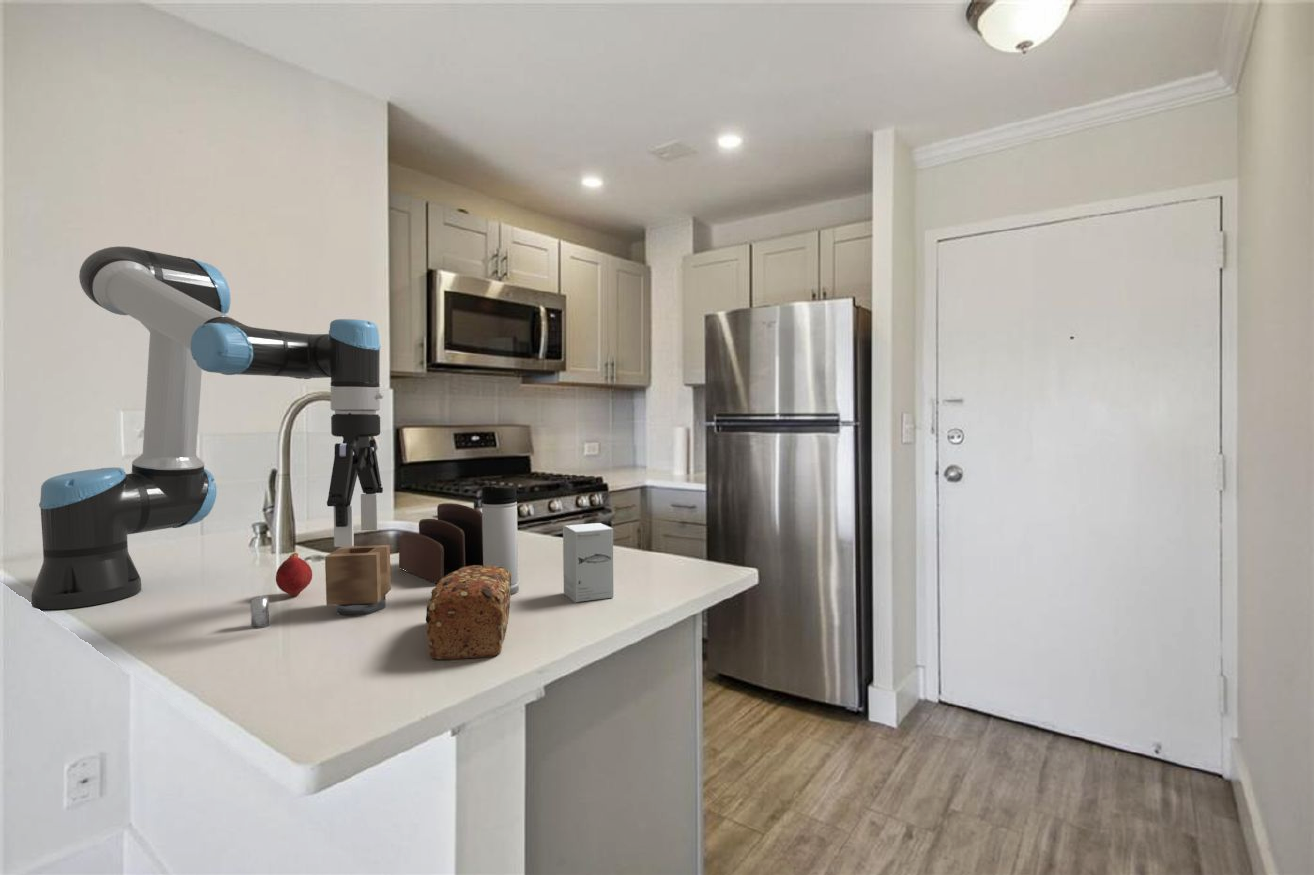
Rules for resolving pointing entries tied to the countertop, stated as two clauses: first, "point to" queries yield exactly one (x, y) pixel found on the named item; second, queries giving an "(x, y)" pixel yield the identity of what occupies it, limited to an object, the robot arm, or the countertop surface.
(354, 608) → the hub
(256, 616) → the grey rounded piece
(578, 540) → the supplement box
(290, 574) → the onion
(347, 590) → the collar
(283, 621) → the countertop surface
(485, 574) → the bread
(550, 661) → the countertop surface
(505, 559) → the travel mug
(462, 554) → the letter holder
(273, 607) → the countertop surface
